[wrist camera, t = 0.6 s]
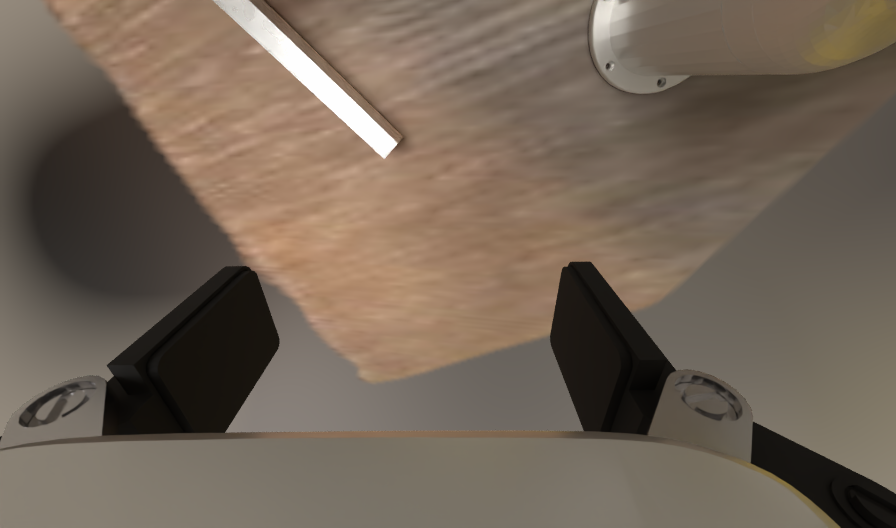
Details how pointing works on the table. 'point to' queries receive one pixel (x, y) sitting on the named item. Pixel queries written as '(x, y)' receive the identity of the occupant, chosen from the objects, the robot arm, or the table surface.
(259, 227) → the table surface
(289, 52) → the bar
